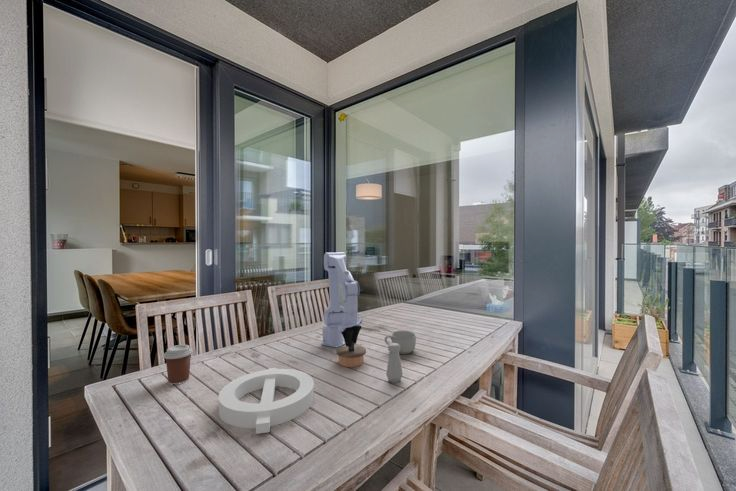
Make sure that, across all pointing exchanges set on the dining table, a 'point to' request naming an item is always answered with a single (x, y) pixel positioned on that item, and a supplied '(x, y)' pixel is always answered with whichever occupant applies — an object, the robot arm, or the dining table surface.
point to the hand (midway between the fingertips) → (350, 344)
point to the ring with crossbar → (265, 399)
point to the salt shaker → (394, 363)
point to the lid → (351, 351)
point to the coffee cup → (178, 363)
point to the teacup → (403, 341)
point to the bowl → (351, 361)
